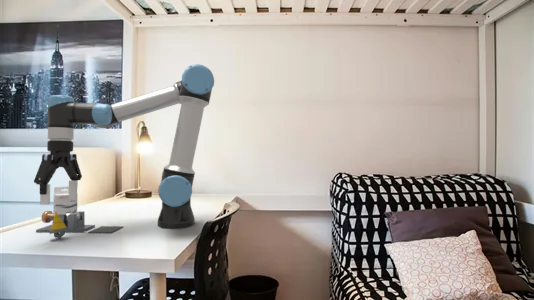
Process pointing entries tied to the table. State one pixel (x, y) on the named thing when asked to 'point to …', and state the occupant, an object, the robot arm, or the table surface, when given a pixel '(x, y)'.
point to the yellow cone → (58, 226)
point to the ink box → (64, 201)
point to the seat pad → (106, 229)
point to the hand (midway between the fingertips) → (59, 201)
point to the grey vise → (71, 223)
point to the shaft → (49, 216)
